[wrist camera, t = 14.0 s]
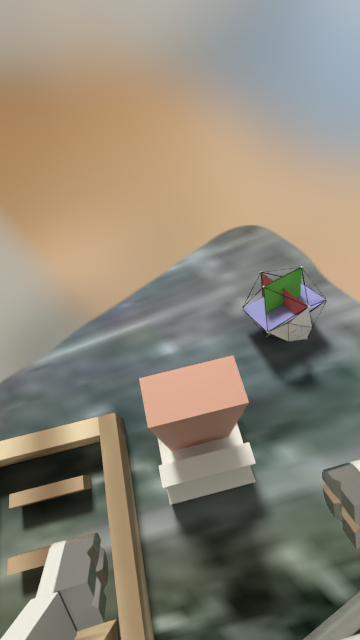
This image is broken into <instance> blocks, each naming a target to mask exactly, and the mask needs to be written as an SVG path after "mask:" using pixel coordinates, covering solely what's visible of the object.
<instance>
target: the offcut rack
mask: <svg viewBox="0 0 360 640" xmlns="http://www.w3.org/2000/svg"><path fill="white" fill-rule="evenodd" d="M97 442H101V451H102V461H103V470H104V480H105V489H106V499H107V508H108V518H109V527H110V537H111V546H112V556H113V565H114V575H115V585H116V594H117V604H118V613H119V623H120V632H121V640H154V633H153V626H152V619H151V612H150V605H149V598H148V591H147V584H146V577H145V570H144V563H143V556H142V549H141V542H140V535H139V528H138V521H137V514H136V507H135V500H134V493H133V486H132V478H131V471H130V464H129V457H128V450H127V443H126V436H125V429H124V422H123V418H121V417H120V416H119V415H118V414H116V413H112V414H108V415H104V416H100V417H96V418H92V419H88V420H84V421H80V422H76V423H72V424H68V425H64V426H60V427H56V428H52V429H48V430H44V431H40V432H35V433H31V434H27V435H23V436H19V437H15V438H11V439H7V440H3V441H0V467H2V466H6V465H10V464H14V463H18V462H22V461H26V460H30V459H34V458H38V457H42V456H46V455H50V454H54V453H57V452H61V451H65V450H69V449H73V448H77V447H81V446H85V445H89V444H93V443H97ZM88 489H91V476H85V475H82V476H78V477H75V478H71V479H67V480H63V481H59V482H55V483H51V484H48V485H44V486H40V487H36V488H32V489H28V490H24V491H20V492H17V493H13V494H9V508H16V507H22V506H26V505H30V504H34V503H38V502H42V501H45V500H49V499H53V498H57V497H61V496H65V495H68V494H72V493H76V492H80V491H84V490H88ZM50 547H51V546H47V547H43V548H40V549H36V550H32V551H29V552H25V553H21V554H19V555H16V556H14V557H11V558H9V559H8V574H7V575H11V574H15V573H18V572H22V571H26V570H29V569H33V568H37V567H40V566H44V565H45V562H46V559H47V555H48V552H49V549H50ZM74 640H119V637H118V627H117V619H115V620H112V621H108V622H105V623H102V624H99V625H96V626H93V627H90V628H87V629H84V630H81V631H77V635H76V637H75V639H74Z"/></svg>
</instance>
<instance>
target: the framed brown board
mask: <svg viewBox="0 0 360 640" xmlns="http://www.w3.org/2000/svg"><path fill="white" fill-rule="evenodd" d="M357 634H360V592H359V593H358V594H356V595H355V596H354V597H353V598H352V599H350V600H349V601H348V602H347V603H346V604H345V605H343V606H342V607H341V608H340V609H339V610H337V611H336V612H335V613H334V614H333V615H332V616H330V617H329V618H328V619H327V620H326V621H324V622H323V623H322V624H321V625H320V626H319V627H317V628H316V629H315V630H314V631H313V632H311V633H310V634H309V635H308V636H307V637H306V638H304V639H303V640H341V639H344V638H347V637H350V636H354V635H357Z"/></svg>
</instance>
